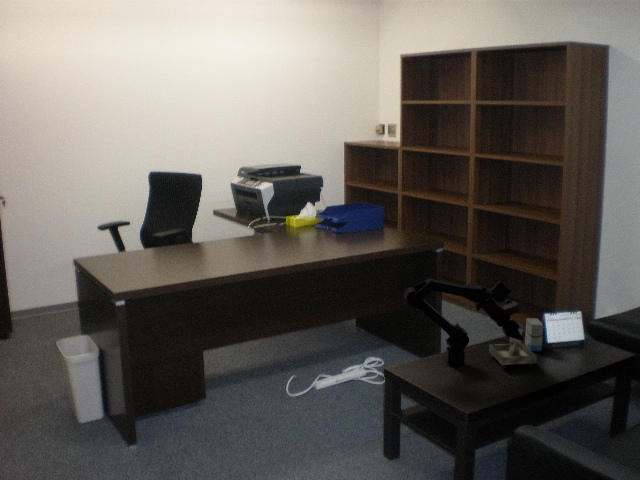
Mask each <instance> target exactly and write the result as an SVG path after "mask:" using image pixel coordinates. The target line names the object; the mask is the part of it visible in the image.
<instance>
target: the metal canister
mask: <svg viewBox="0 0 640 480" xmlns="http://www.w3.org/2000/svg"><path fill="white" fill-rule="evenodd" d="M515 322H516V323H517V324H518V325H519V326H520V327H519V328H518V331H519V332H520V334H521V336H522V335H523V327H524V326H523V325H524V324H523V323H522V322H519V321H515ZM522 337H523V336H522ZM521 343H522V341H520V340H518V339H515V338H512V337H509V343H508V344H509V355H510V356H512V357H514V356H520V352H521Z"/></svg>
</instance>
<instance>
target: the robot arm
mask: <svg viewBox="0 0 640 480" xmlns="http://www.w3.org/2000/svg"><path fill="white" fill-rule="evenodd" d="M432 292H437V293H443V294H447V295H448V294H449V295H453V296H460V297H462V298H464V299H466V300H469V301H471V302H473V303H474V310H476V311H477V312H479V311H480V310H482V311H483V312H484V313H485V314H486V315H487V316H488V317H489V318H490V319H491V321H494V323H495V324H496V325H497V327H499V328H500V327H501V330H502V334H504V335H505V336H506V337H507V338H510V337H512V338H515V339H518V340H520V341H521V342H523V341H525V338H524V337H523V336H521V334H520V332H519V331H518V328H519V327H520V326H519V325H518V324H517V323H516V322H517V321H516V320H514V319H511V318H512V316H514V315H515V314H517V313H518V314H519V313H520V312H521V308H520V306H519V303H518V302H516V301H514V300H512V301H511V300H510V299H508V297H510V296H511V295H512V293H513V292H512V290H511V289H510V288H509V287H508V286H507V285H506V284H505V283H503V282H502V281H501V280H498V281H497V282H496V283H495V285H493V287H491V288H490V289H489V288H488V287H483V286H482V287H481V286H480V285H478V284H476V283H475V284H470V283H469V284H458V283H451V282H447V281H443V280H437V279H434V278H428V279H426V280H424V281H422V282H419V283H417V284H415V285H413V286H410V287H408V288H406V289H405V290H404V293H403V297H404V299H405V301H406V303H407V304H408V305H409V306H410V307H413V308H414V309H416V310H418V311H421V312H422V313H423V314H424V315H426V316H427V318H429V319H430V320H431V321H432V322H434V323H435V324H436V325H437V326H438V327H439V328H441V329H442V331H444V332H445V333H446V334H447V335H448V338H446V340H445V343H446V345H447V346H446V349H445V350H446V351H445V359H444V361H445V363H446V364H447V366H448V367H463V366H465V365H466V364H465V361H466V360H465V359H466V357H465V356H466V352H465V349H466V347H467V346H469V344H470V337H469V333H468V332H467V331H466V329H465V328H463V327H462V326H460V324H459V322H456V324H452V323H451V322H450V321H449V320H448V319H447V318H445V317H444V316H443V315H442V314H441V313H440V312H439V311H437V310H436V309H435V307H433V306H431V304H430V303H428V302H427V301H426V300H425V299H426V297H428V296H429V294H431V293H432ZM495 300H496V301H495ZM503 302H504V304H503V306H501V305H500V304H498V303H503Z"/></svg>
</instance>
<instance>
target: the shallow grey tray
mask: <svg viewBox="0 0 640 480" xmlns="http://www.w3.org/2000/svg"><path fill="white" fill-rule="evenodd" d="M509 344H510V343H498V344H497V343H495V344H488V346H489V347H488V351H489V353H490V354H491V358H492V359H496V360H497V361H498V363H499V364H500V365H501V369H507V366H508V365H526V364H528V368H533V367H534V364H537V355H536V354H535V353H534V351H530V350H529V349H528V347H527V346H526V345H525V343H523V342H521V352H520V356H514V357H512V356H510V355H509Z"/></svg>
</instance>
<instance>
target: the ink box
mask: <svg viewBox="0 0 640 480" xmlns="http://www.w3.org/2000/svg"><path fill="white" fill-rule="evenodd" d="M525 319H526V320H525V335H524V336H525V337H524V345H525V346H526V347H527V348H528V349H529V350H530V351H532V352H542V351H543V350H542V349H543V334H544V324H543V323H542V322H541V321H540V320H539V319H538V318H536V317H535V318H533V317H532V318H531V317H527V318H525Z"/></svg>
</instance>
